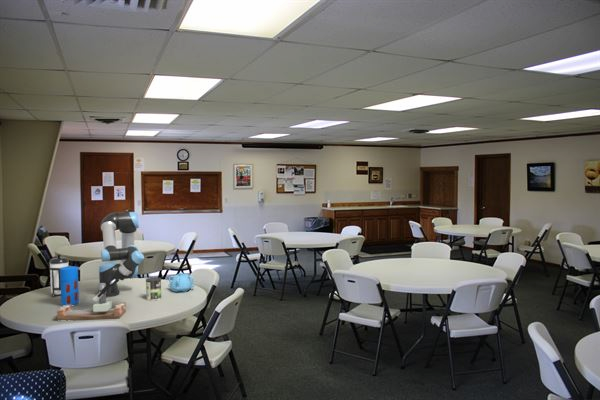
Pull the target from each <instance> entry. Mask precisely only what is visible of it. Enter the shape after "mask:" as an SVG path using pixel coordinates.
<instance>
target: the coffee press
mask: <svg viewBox="0 0 600 400" xmlns="http://www.w3.org/2000/svg"><path fill="white" fill-rule="evenodd" d="M69 261H70V260H69V259H68V258H67V257H65V256H62V257H61V254H59V253H58V254H57V257H54V258H51V259H50V260H49V262H48V264H49V273H50V274H49V277H50V293H51V295H52V296H53V295H55V296H56V295H61V286H60V268H63V267H70V266H69V263H70V262H69Z"/></svg>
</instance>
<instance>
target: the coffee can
mask: <svg viewBox="0 0 600 400" xmlns="http://www.w3.org/2000/svg"><path fill="white" fill-rule="evenodd" d="M145 289H146V291H145V292H146V295H145V296H146V299H145V300H146V301H149V302H150V301H152V302H153V301H159V300H161V299H162V278H161V277H149V278H146V279H145Z"/></svg>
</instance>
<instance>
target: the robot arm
mask: <svg viewBox="0 0 600 400" xmlns="http://www.w3.org/2000/svg"><path fill="white" fill-rule="evenodd" d="M139 228H140V225H139V217H138V213H137V212H135V211H126V212H125V211H122V212H112V213H111V212H110V213H108V214H107V215H106V216H105V217H103V219H102V220H101V222H100V230H101V232H102V239H103V241H102V242H103V249H101V250H100V256H101V259H100V260H101V261H102V262H105V263H102V264H100V265H99V267H98V277H99V282H98V284H99V283H106V286H105V287H104V288H103V289H102V290H100V292H99V287H98V289H97V293H96V295H95V296H94V297H93V298H92V300H93V301H94V302H95V303H97V302H98V301H99V299H100V298H101V297H102V296H103V295H104V294H105V292H106V298H111V297H115V296H119V295H120V294H121V293H120V288H119V286H118V284H117V283H118V282H119V281H124V280H127V279H135V278H137V276H138V274H139V265H140V264H141V263H142V262H143V261H144V259H145V256H144V254H143V253H142V252H141V251H139V249H138V247H137V246H136V245H135V233H136V232H137V229H139ZM116 230H118V231H119V232H120V233H121V248H117V239H116ZM116 261H117V262H118V261H119V262H118V263H117V262H116Z"/></svg>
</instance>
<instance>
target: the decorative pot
mask: <svg viewBox="0 0 600 400" xmlns="http://www.w3.org/2000/svg"><path fill="white" fill-rule="evenodd" d="M171 279H172V280H171ZM168 282H169V284H168V286H167V287H168V288H170V289H171V290H172V291H173V293H177V292H183V293H186V292H187V291H190V290H191V289H192V288H194V287H195V284H194V277H193V276H192V275H189V274H187V273H184V272H179V273H177V274H176V275H170V276H169V277H168Z"/></svg>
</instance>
